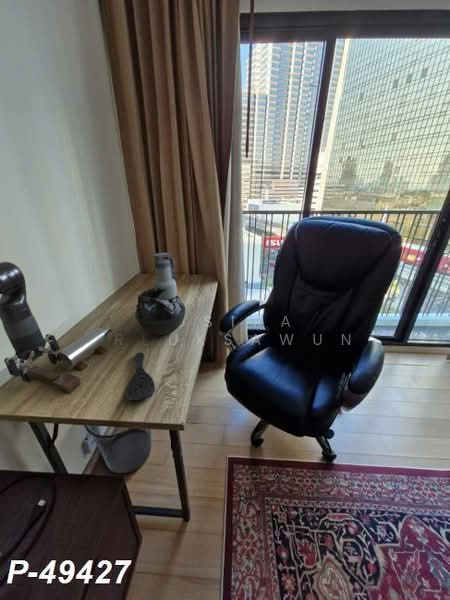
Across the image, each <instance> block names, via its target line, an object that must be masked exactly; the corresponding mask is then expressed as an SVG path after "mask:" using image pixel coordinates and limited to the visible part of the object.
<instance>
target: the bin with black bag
mask: <svg viewBox="0 0 450 600" xmlns="http://www.w3.org/2000/svg"><path fill="white" fill-rule="evenodd" d="M164 291H166V289H161V288H157V289H155V287H152V288H148V289H147V290H143V291H142V292H141V293H140V294H139V295H138V296H137V304H136V306H135V307H136V309H135V312H134V313H135V314H134V317H135V320H136V322H137V324H138V326H140V328H141V329H143V330H144V331H145V332H147V333H148V334H150V335H155V336H163V335H168V334H170V333H173V332H175V331H176V330H178V328H179V327H180V326H181V325H182V323H183V322H184V319H185V316H186V306H185V304H184V303H183V302H182V301H181V298H180V297H179V295H178V294H177V296H176V297H174V298H170V299H164V300H159V299H157V298H158V297H159V295H160V294H161V293H162V292H164Z"/></svg>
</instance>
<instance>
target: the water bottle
mask: <svg viewBox="0 0 450 600" xmlns="http://www.w3.org/2000/svg"><path fill="white" fill-rule="evenodd" d="M153 259H154V262H153V264H154V270H155V273H156V280H155V281H154V283H153V284H154V285H153V286H154V288H155V289H157V288H161V289H166V291H164V292H162V293H161V294H160V295H159V297H158V298H157V299H159V300H164V299H170V298H174V297H176V296H177V295H178V290H177V281H176V280H175V279H177V277H178V275H177V268H176V267H175V263H176V259H175V258H174V256H173V255H171V254H169V253H168V252H158V253H154V254H153ZM173 272H174V274H173Z"/></svg>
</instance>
